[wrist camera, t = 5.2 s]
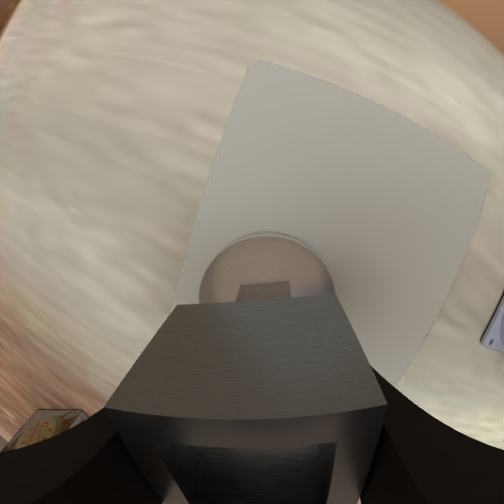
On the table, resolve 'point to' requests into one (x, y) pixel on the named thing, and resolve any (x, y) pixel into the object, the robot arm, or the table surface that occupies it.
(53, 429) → the coffee box
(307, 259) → the ratchet
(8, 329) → the table surface
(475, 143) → the table surface
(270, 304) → the socket
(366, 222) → the mat
